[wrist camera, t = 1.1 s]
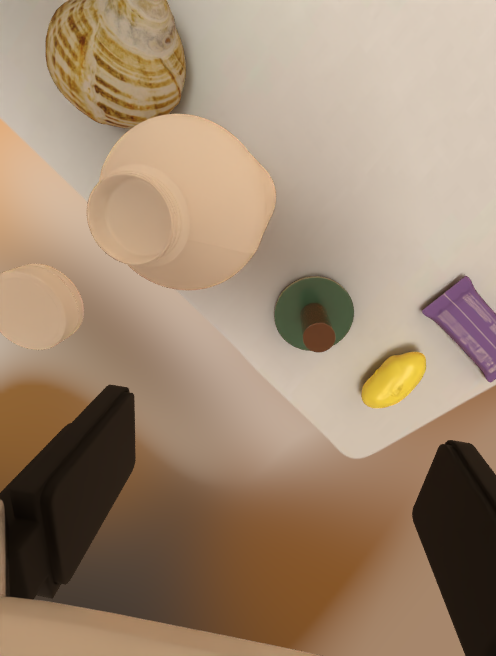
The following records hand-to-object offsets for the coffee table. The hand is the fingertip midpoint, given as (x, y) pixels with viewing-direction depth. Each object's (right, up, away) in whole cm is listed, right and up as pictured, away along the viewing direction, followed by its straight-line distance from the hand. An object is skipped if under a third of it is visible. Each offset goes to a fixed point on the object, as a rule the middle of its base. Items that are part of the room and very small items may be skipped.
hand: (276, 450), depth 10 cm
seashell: (-10, +26, +18) cm, 33 cm away
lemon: (+15, -1, +27) cm, 30 cm away
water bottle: (-2, +16, +22) cm, 27 cm away
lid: (+6, +5, +24) cm, 25 cm away
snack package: (+20, +2, +24) cm, 31 cm away
